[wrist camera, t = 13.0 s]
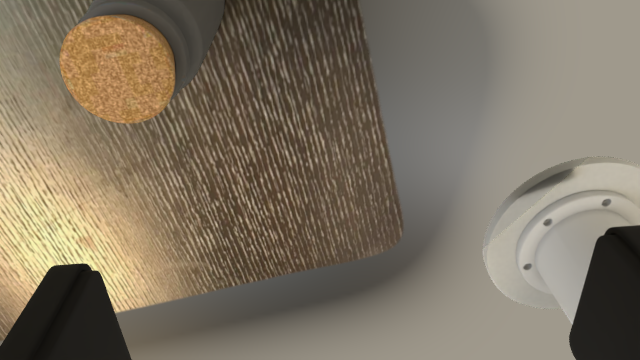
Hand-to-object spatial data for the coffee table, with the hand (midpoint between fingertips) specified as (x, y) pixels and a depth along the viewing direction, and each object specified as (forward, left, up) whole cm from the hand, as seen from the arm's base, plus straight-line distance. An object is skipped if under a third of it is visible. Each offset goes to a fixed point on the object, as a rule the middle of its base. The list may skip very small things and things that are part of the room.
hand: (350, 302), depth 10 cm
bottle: (+7, +5, -29) cm, 30 cm away
